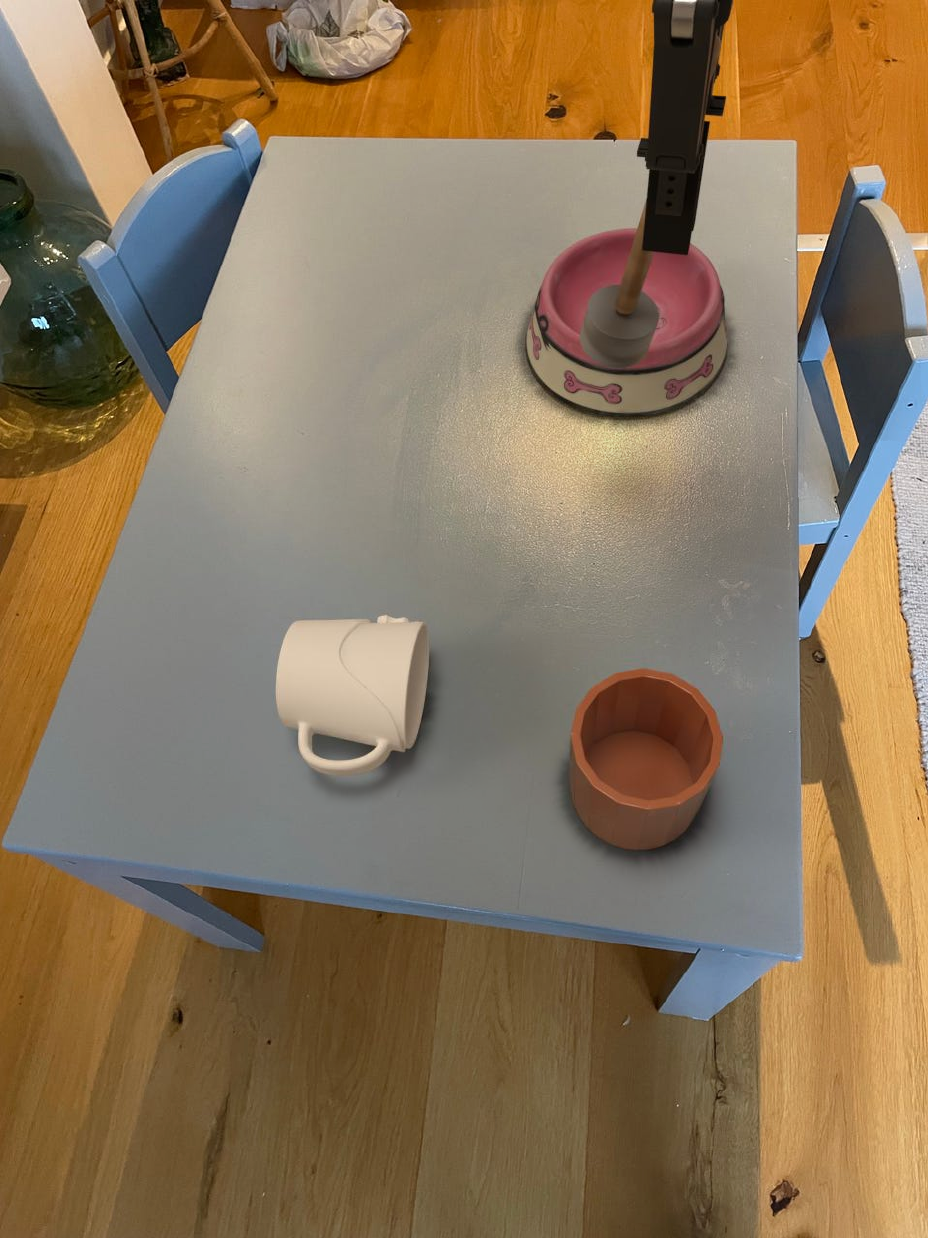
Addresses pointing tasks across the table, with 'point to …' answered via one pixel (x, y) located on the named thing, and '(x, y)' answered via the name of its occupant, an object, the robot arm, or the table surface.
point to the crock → (642, 757)
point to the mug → (353, 686)
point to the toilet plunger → (624, 307)
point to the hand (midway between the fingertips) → (668, 235)
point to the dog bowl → (678, 349)
